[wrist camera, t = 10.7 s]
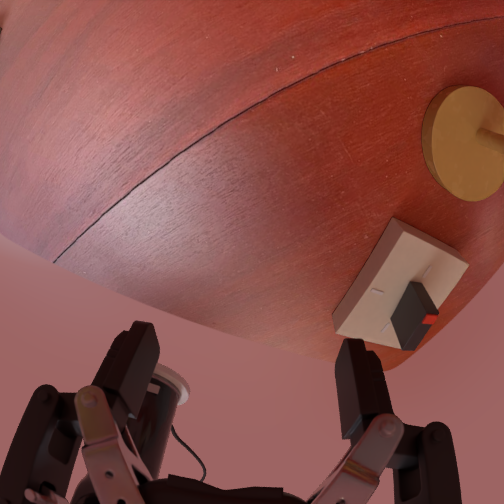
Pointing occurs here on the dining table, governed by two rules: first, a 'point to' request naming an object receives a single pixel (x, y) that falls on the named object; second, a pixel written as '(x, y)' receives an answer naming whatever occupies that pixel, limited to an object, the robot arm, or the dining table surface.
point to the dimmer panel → (396, 281)
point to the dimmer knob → (413, 316)
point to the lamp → (465, 141)
